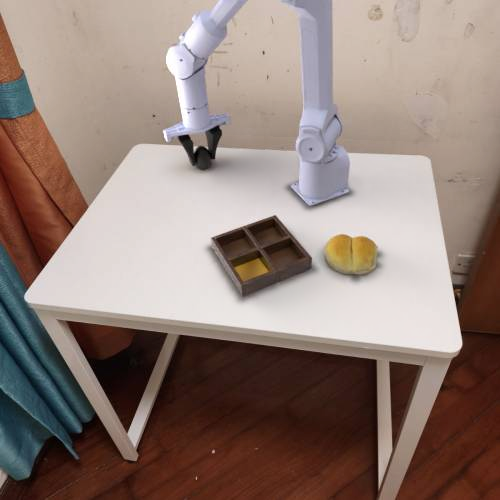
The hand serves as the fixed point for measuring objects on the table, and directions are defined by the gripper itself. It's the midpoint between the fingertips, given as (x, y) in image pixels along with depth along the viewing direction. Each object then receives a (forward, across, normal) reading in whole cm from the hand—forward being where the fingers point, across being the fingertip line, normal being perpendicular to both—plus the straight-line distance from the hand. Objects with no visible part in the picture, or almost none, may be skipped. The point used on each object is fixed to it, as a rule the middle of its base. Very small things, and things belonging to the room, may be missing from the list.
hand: (202, 160), depth 101 cm
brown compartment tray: (+1, +2, +33) cm, 33 cm away
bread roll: (+2, -12, +41) cm, 43 cm away
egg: (+2, 0, 0) cm, 2 cm away
